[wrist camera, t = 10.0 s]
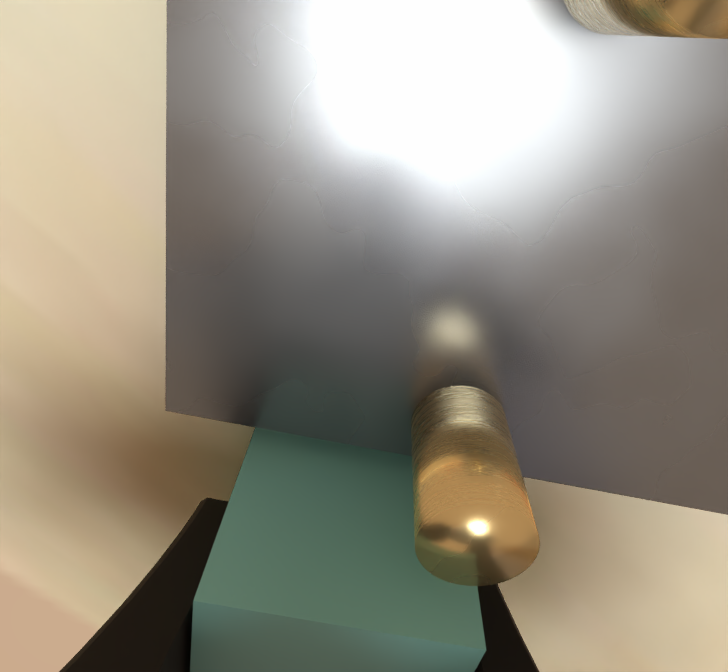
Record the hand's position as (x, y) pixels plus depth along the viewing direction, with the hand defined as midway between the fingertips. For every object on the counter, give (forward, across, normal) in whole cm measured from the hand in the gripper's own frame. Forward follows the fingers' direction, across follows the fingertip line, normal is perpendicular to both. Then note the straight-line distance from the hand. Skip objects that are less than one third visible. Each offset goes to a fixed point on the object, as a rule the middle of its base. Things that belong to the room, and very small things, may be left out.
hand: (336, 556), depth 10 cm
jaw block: (+1, 0, 0) cm, 1 cm away
